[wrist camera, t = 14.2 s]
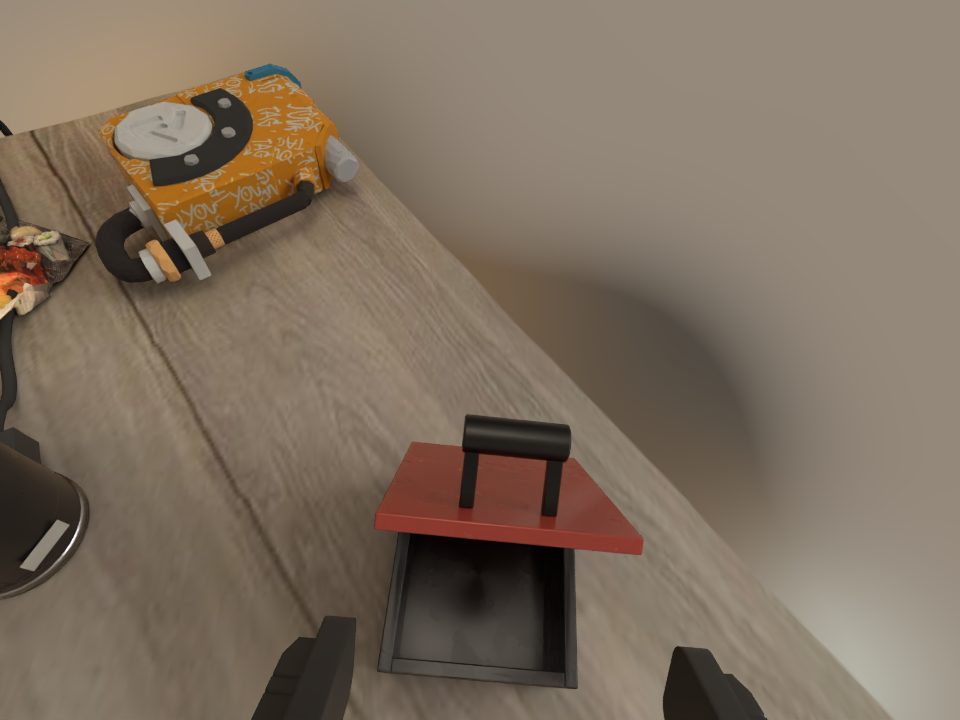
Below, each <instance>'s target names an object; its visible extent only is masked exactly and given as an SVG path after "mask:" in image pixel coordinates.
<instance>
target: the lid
mask: <svg viewBox="0 0 960 720" xmlns="http://www.w3.org/2000/svg"><path fill="white" fill-rule="evenodd" d="M570 449H571V430H570V427H569V426H568V425H565V424H555V423H546V422H536V421H526V420H517V419H507V418H497V417H488V416H478V415H469V414H467V415H466V416H465V423H464V432H463V441H462V447H459V446H449V445H439V444H430V443H420V442H412V443H411V445H410V447H409V449H408V451H407V453H406V455H405V457H404V459H403V461H402V463H401V465H400V467H399V469H398V471H397V473H396V475H395V476H394V478H393V480H392V482H391V484H390V486H389V488H388V490H387V492H386V494H385V496H384V498H383V500H382V502H381V504H380V506H379V508H378V510H377V512H376V514H375V524H374V528H375V529H376V530H385V531H396V532H406V533H416V534H427V535H437V536H447V537H458V538H468V539H478V540H489V541H499V542H509V543H520V544H530V545H540V546H551V547H561V548H571V549H582V550H592V551H603V552H613V553H623V554H634V555H641V554H642V549H643V541H644V540H643V538H642V537H641V535H640V534H639V533H638V532H637V531H636V530H635V528H634V527H633V526H632V525H631V524H630V523H629V521H628V520H627V519H626V518H625V517H624V516H623V514H622V513H621V512H620V511H619V510H618V509H617V507H616V506H615V505H614V504H613V503H612V502H611V500H610V499H609V498H608V497H607V496H606V495H605V493H604V492H603V491H602V490H601V489H600V488H599V486H598V485H597V484H596V483H595V482H594V481H593V479H592V478H591V477H590V476H589V475H588V474H587V472H586V471H585V470H584V469H583V468H582V467H581V465H580V464H579V463H578V462H577V461H576V460H575V459H574V458H569V454H570Z"/></svg>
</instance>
